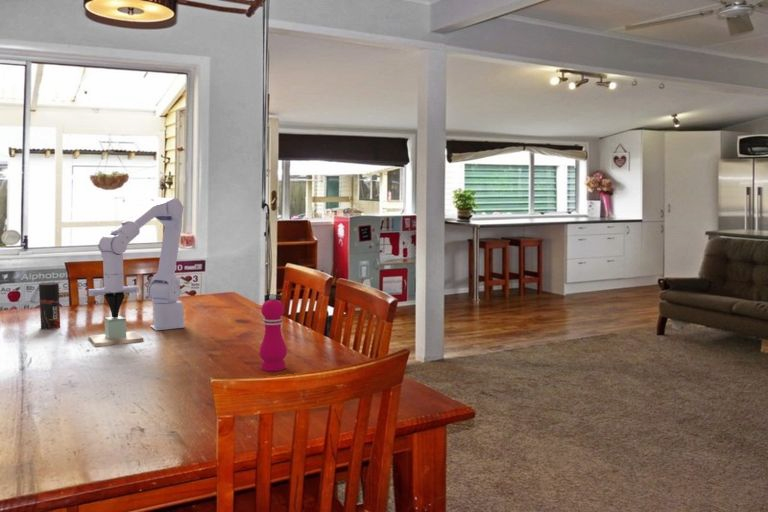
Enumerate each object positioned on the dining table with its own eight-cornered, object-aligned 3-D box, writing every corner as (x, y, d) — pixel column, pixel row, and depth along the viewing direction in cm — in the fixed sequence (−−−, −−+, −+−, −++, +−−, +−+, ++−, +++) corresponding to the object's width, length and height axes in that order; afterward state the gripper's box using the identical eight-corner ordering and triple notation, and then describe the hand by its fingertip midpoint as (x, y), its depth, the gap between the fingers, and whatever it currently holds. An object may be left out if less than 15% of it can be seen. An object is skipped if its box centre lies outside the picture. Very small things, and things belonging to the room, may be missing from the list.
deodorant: (52, 329, 228) (50, 285, 226) (36, 328, 229) (34, 284, 227) (64, 326, 233) (62, 282, 232) (48, 325, 235) (46, 282, 233)
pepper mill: (272, 363, 186) (272, 291, 184) (292, 367, 182) (292, 293, 180) (253, 369, 180) (252, 294, 178) (273, 373, 176) (273, 297, 174)
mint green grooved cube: (122, 334, 217) (121, 315, 216) (126, 337, 212) (125, 318, 212) (105, 336, 214) (104, 317, 213) (108, 339, 209) (108, 320, 209)
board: (134, 334, 222) (134, 317, 221) (143, 341, 212) (142, 323, 211) (88, 338, 214) (87, 321, 214) (95, 346, 204) (94, 328, 204)
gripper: (134, 270, 218) (135, 312, 220) (85, 273, 210) (87, 317, 212) (140, 273, 212) (141, 316, 214) (90, 276, 204) (92, 321, 206)
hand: (115, 317), depth 212 cm, fingers closed
